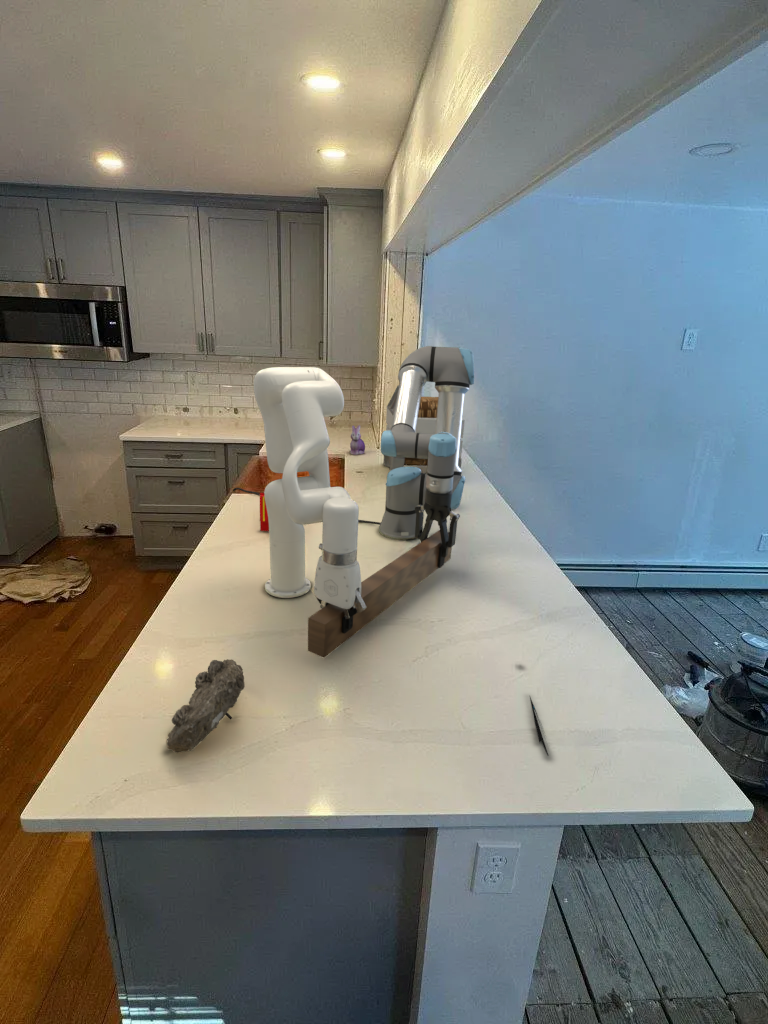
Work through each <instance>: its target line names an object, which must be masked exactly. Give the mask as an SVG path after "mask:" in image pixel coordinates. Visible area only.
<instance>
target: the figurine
mask: <svg viewBox="0 0 768 1024" xmlns="http://www.w3.org/2000/svg"><path fill="white" fill-rule="evenodd" d="M360 431H361V425H360V424H358V425H357V426H355V425H352V426H351V433H350V439H351V441H350V443H349V447H350V449H349V453H350V455H362V454H365V451H366V444H365V442H364V440H363V439H362V435H361V433H360Z"/></svg>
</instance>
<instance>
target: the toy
mask: <svg viewBox="0 0 768 1024" xmlns="http://www.w3.org/2000/svg"><path fill="white" fill-rule="evenodd" d="M259 493H260V495H259V526H260V528H259V529H260V531H259V532H269V521H268V513H267V508H266V503H265V497H264V492H259Z"/></svg>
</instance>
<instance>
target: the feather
mask: <svg viewBox="0 0 768 1024" xmlns="http://www.w3.org/2000/svg"><path fill="white" fill-rule="evenodd" d="M529 701H530V706H531V710H532V715H533V721H534V726H535V729H536V733H537V738H538V743H539V744H540V743H541V744H542V746H543V748H544V750H545V752H546V755H547V756H549V753H548V750H547V747H546V744H547V746H549V745H548V744H549V743H546V742H545V740H544V738H546V737H547V736H546V734H545V731H544V727H543V726H540V724H542V722H541V721H540V717H539V715H538V712H537V710H536V708H535V705H534V702H533V700H532V698H531V696H529ZM545 743H546V744H545Z"/></svg>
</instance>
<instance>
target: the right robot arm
mask: <svg viewBox="0 0 768 1024" xmlns="http://www.w3.org/2000/svg"><path fill="white" fill-rule="evenodd" d="M474 360H475V359H474V352H473V350H472V349H471V348H465V347H460V346H458V347H454V346H453V347H452V346H432V345H425V346H422V347H419V348H417V349H416V350H413V351H412V352H411V353H409V354H408V356H406V358H405V359H404V360H403V361H402V363H401V364H400V367H399V370H398V374H397V379H398V383H399V384H398V385H399V389H398V394H397V399H396V404H395V410H394V415H393V420H392V425H391V430H389V431H386V430H383V432H382V433H381V437H380V453H381V455H382V456H384V455H385V456H391V457H405V458H417V459H428V466H427V471H426V473H425V472H422V469H421V468H420V467H419V466H418V467H417V466H404V467H400V468H396V469H393V470H391V471H390V470H389V471H388V473H387V475H386V482H385V504H384V505H385V507H384V508H385V509H384V513H383V515H382V519H381V522H378V521H372V520H364V519H358V523H363V524H370V525H372V524H373V525H377V526H378V525H379V526H378V533H379V534H380V535H381V536H382V537H385V538H387V539H389V540H395V541H410V540H415V539H418V540H419V541H420V543H421V542H422V541H424V540H425V539H427V538H428V537H429V534H430V532H431V529H432V525H433V524H434V523H433V522H434V521H435V522H437V525H438V528H439V530H440V535H441V542H442V546H441V547H439V558H438V569H441V568H442V567H443V566H445V563H444V559H445V557H446V556H447V555H448V547H450V548H451V547H452V548H453V547H454V546H455V545H456V539H457V531H458V530H457V529H458V521H459V520H460V518H461V514H459V513H456V512H453V510H456V509H458V508H459V507H460V504H461V501H462V498H463V497H462V496H463V493H464V492H463V491H464V486H465V482H466V477H465V475H463V474H462V472H463V470H462V468H461V469H460V468H459V466H458V458H459V447H460V439H461V438H460V436H461V425H462V419H463V414H464V413H463V412H464V402H465V401H464V400H465V395H466V394H467V393H468V391H470V386H472V385H474V384H475V361H474ZM427 382H429V383H434V389H435V391H437V392H438V396H437V397H438V408H437V419H436V431H435V434H427V433H415V431H416V425H417V419H418V412H419V406H420V400H421V397H422V392H423V387H424V386H425V385H426V383H427ZM237 490H238V491H241V492H243V493H247V494H253V495H258V496H260V493H261V492H258V491H252V490H247V489H243V488H241V487H234V488H233V489H232V491H233V492H235V491H237ZM424 513H425V514H426V518H425V522H424ZM448 517H449V521H450V522H449V529H448ZM448 532H449V537H448Z"/></svg>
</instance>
